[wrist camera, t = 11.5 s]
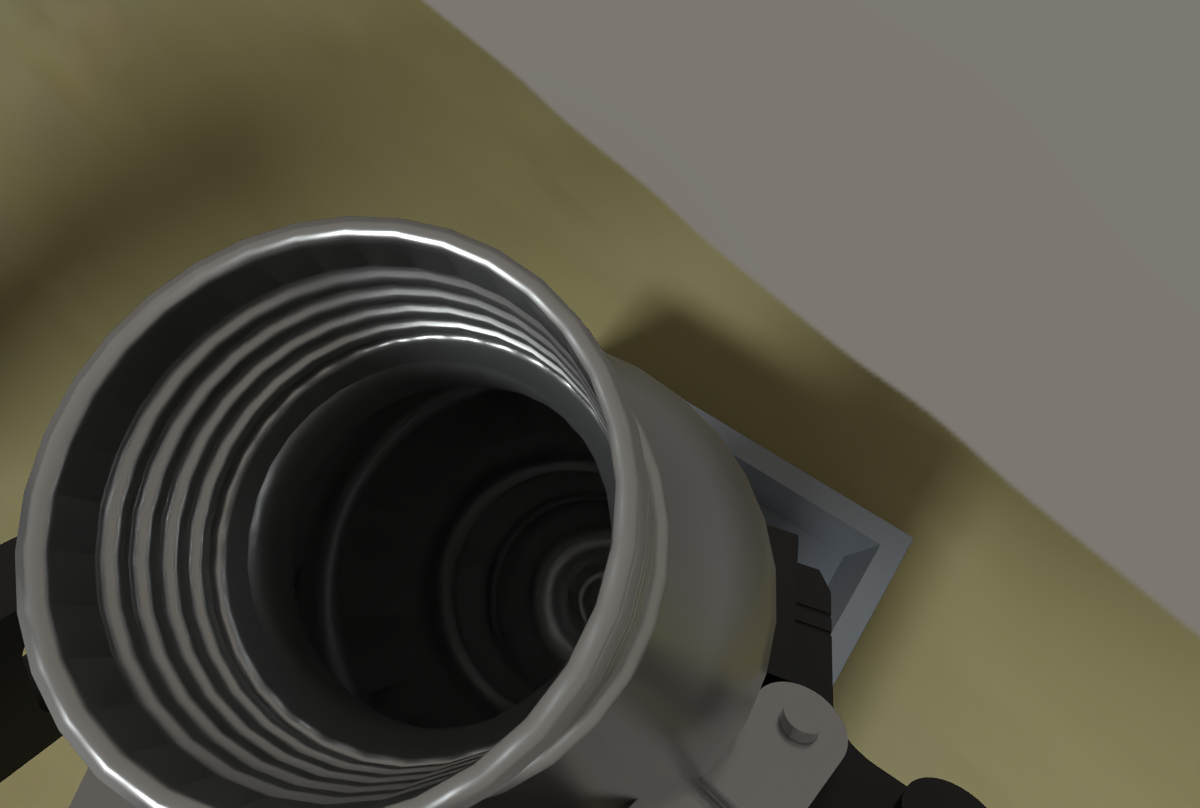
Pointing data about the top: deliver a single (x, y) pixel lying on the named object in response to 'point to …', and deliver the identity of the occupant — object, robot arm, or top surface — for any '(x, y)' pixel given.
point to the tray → (823, 535)
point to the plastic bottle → (385, 542)
